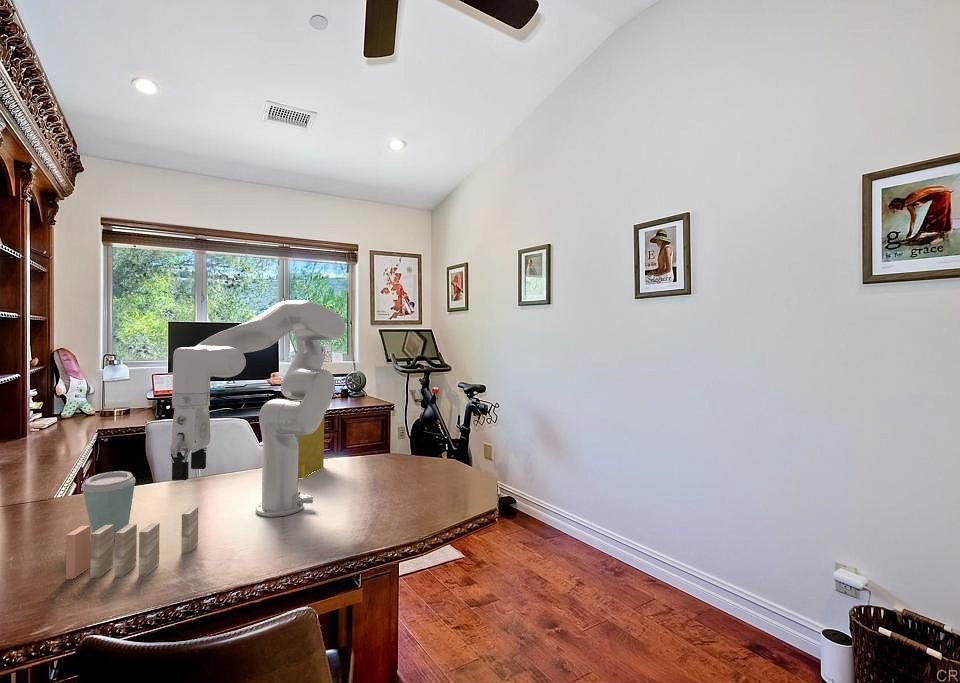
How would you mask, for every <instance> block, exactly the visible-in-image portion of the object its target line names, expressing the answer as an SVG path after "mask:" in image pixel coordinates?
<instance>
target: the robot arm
mask: <svg viewBox="0 0 960 683" xmlns="http://www.w3.org/2000/svg"><path fill="white" fill-rule="evenodd" d="M291 332H293V334H294V339H295V342H296V353H295V356H294V357H293V359H292V361H291V363H290V365H289V367H288V369H287V371H286V372H285V375H284V377H283V379H282V382H281V383H280V391H281V393H282V395H283V396H284V397H285V398H274V399H271V400H268V401H266V402H265V403H264V404H263V405H262V406H261V408H260V410H259V414H258V420H259V422H258V423H259V427H260V433H261V438H262V440H261V442H262V463H261V464H262V466H261V467H262V471H261V472H262V475H261V476H262V477H261V482H262V483H261V503H260V504H258V505H256V507H255V513H256V514H257V515H259V516H262V517H268V518H271V517H272V518H273V517H274V518H275V517H283V516H289V515H293V514H296V513H298V512H300V511H301V510H302V509H303V508H304V504H313V503H314V496H312V495H311V494H305V495H304V494H301V490H300V489H299V479H298V443H297V440H296V437H295V435H294V434H296V435H309V434H312V433H313V432H315V431H316V429H317V428H318V427H319V425H320V423H321V421H322V419H323V417H324V418H325V415H326V412H327V410H328V408H329V406H330V404H331V402H332V398H333V396H334V395H335V389H336V380H335V377H334V375H333V374H332V373H331V372H330V371H329V370H327V369H324V368H322V367H323V364H324V361H325V356H324V355H325V354H324V352H323V350H322V348H321V345H320V341H337V340H339V339H341V338H342V337H343V335H344V334H345V332H346V321H345V319H344V318H343V316H342V315H341V314H339V312H337V311H334V310H332V309H331V308H329V307H326V306H324V305H321V304H319V303H316V302H314V301H311V300H285V301H284V300H283V301H281V302H278V303H276V304H274V305H273V306H271V307H269V308H268V309H267V310H265V311H263V312H262V313H260V314H259V315H258V316H256V317H254V318H253V319H251V320H249V321H247V322H243V323H241V324H238V325H235V326H234V327H231V328H227V329H225V330H222V331H219V332H217V333H215V334H213V335H211V336H208V337H207V338H206V339H204V340H202V341H201V342H199V343H197V344H196V345H195V346H189V347H187V346H185V347H178V348H176V349H175V350H174V351H173V358H172V393H171V395H172V397H171V400H172V401H171V404H172V405H171V407H172V409H173V410H174V411H173V417H172V419H173V420H172V426H171V428H172V429H171V430H172V431H171V444H170V446H169V450H170V457H171V460H170V462H171V481H187V480H188V479H189V470H190V469H191V470H205V469H206V468H207V450H208V447H207V446H209V444H210V443H211V418H210V408H209V407H210V404H211V403H210V400H211V399H210V398H211V396H210V395H211V394H210V393H211V377H216V378H232V377H235V376H238V375H239V374H241V373H242V372H243V370H244V369H245V368H246V365H247V364H246V362H247V360H246V357H245V354H246V353H253V352H257V351H261V350H265V349H267V348H270V347H271V346H273V345H274V344H276V343H277V342H278V341H279V340H281V339H282V338H283V337H285V336H287V335H288V334H290V333H291ZM189 456H190V462H189V461H188V458H189ZM189 464H190V468H189Z"/></svg>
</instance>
